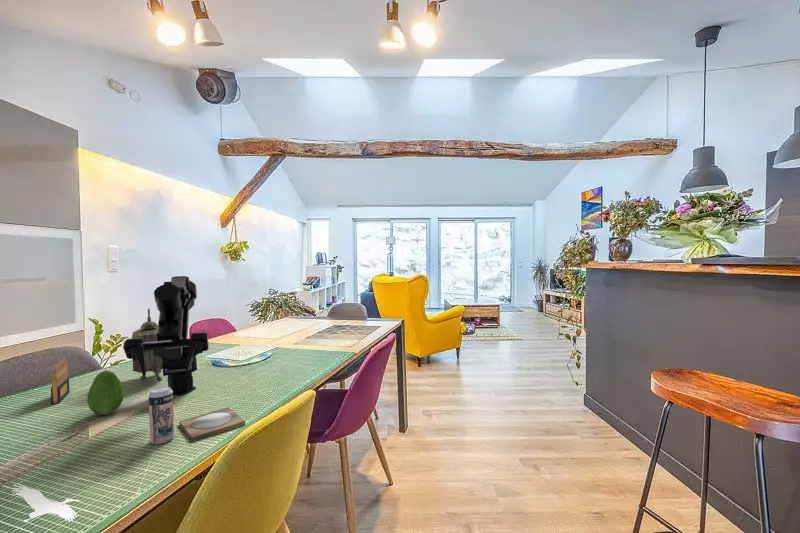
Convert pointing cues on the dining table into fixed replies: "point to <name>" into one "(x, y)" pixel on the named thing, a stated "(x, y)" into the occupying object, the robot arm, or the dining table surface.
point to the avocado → (105, 393)
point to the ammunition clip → (59, 381)
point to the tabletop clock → (152, 362)
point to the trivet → (211, 423)
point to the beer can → (161, 415)
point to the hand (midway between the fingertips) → (165, 373)
